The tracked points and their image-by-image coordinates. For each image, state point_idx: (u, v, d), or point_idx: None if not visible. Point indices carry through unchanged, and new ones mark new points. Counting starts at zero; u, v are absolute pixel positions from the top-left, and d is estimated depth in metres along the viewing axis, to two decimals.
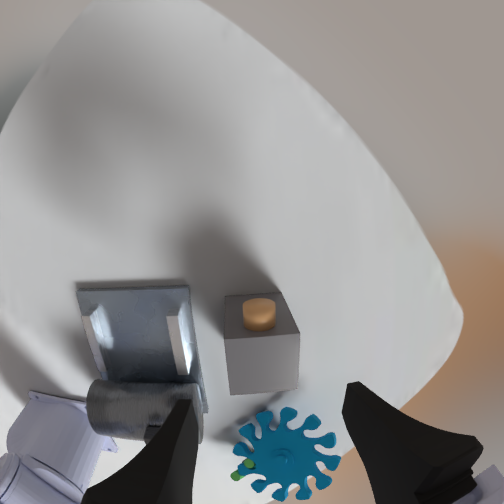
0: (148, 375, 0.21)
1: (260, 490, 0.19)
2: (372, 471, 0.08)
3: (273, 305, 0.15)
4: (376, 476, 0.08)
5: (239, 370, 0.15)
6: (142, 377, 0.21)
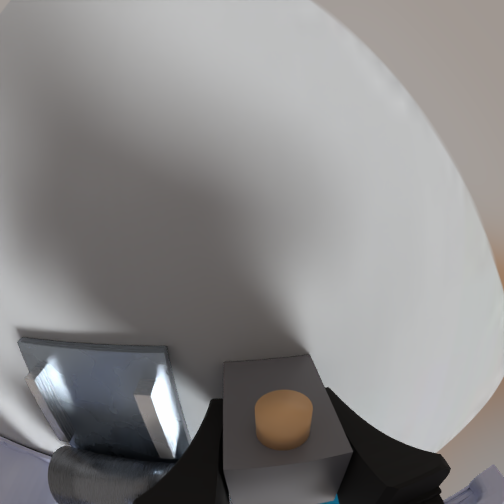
0: (123, 448, 0.13)
1: None
2: None
3: (309, 410, 0.08)
4: (341, 486, 0.08)
5: (249, 495, 0.07)
6: (116, 449, 0.13)
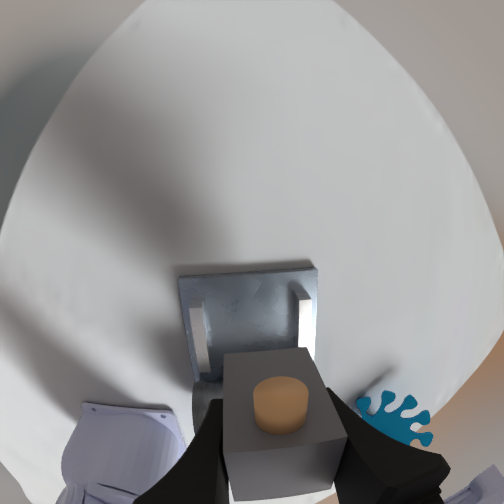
0: None
1: None
2: (337, 481, 0.08)
3: (305, 394, 0.08)
4: (341, 486, 0.08)
5: (248, 481, 0.08)
6: None
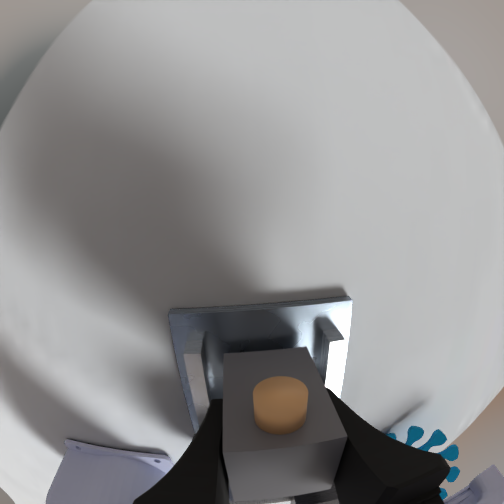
0: None
1: None
2: (337, 481, 0.08)
3: (305, 394, 0.08)
4: (341, 486, 0.08)
5: (248, 481, 0.08)
6: None
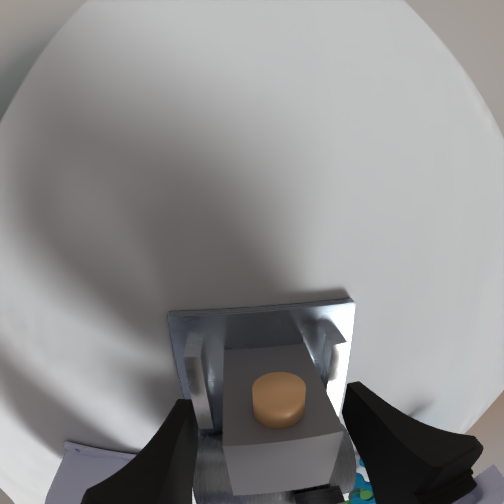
0: None
1: None
2: (372, 471, 0.08)
3: (303, 389, 0.09)
4: (376, 476, 0.08)
5: (247, 475, 0.08)
6: None
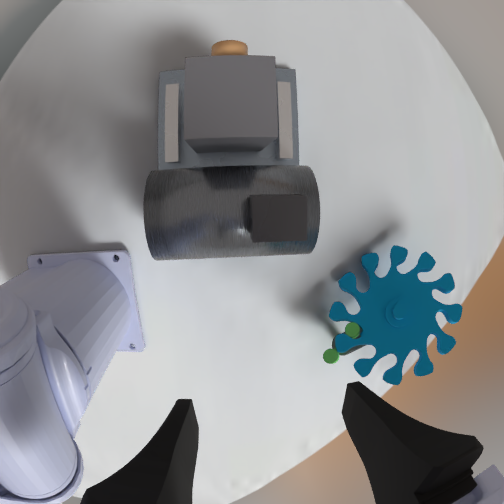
0: None
1: (367, 371, 0.17)
2: (372, 471, 0.08)
3: None
4: (376, 476, 0.08)
5: (199, 97, 0.11)
6: None
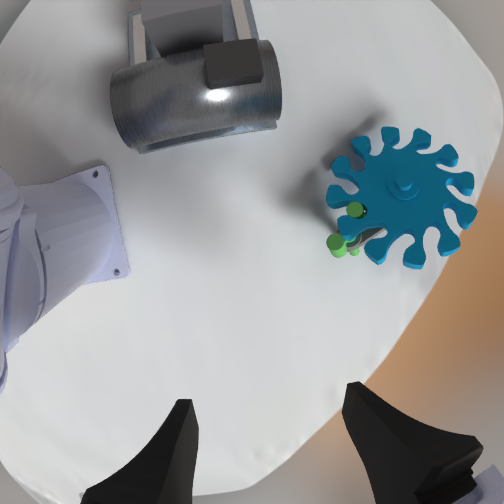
0: None
1: (382, 253, 0.15)
2: (372, 471, 0.08)
3: None
4: (376, 476, 0.08)
5: None
6: None
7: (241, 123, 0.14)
